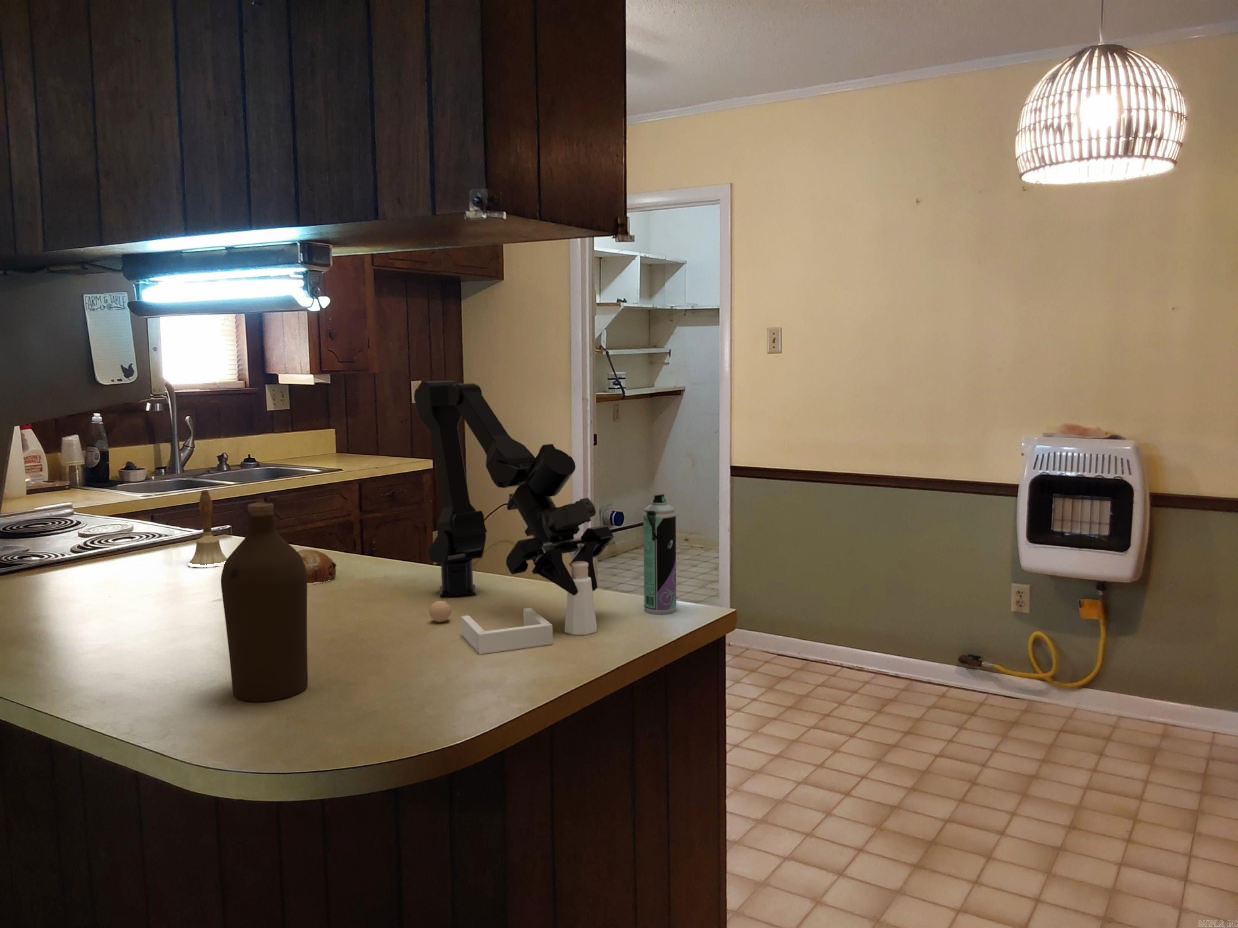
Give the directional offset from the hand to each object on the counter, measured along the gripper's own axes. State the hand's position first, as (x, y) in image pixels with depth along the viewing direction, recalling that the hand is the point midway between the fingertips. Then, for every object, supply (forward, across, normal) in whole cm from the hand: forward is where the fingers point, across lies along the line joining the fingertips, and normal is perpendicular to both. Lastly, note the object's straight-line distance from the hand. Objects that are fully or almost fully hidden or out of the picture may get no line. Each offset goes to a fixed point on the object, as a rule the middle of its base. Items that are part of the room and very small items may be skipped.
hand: (585, 591), depth 151 cm
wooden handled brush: (-63, -24, +72) cm, 99 cm away
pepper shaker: (+4, 0, +6) cm, 7 cm away
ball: (-11, -13, +20) cm, 26 cm away
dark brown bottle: (-2, -47, +12) cm, 48 cm away
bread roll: (-42, -15, +52) cm, 68 cm away
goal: (0, -11, +9) cm, 14 cm away
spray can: (+4, +18, +5) cm, 19 cm away
